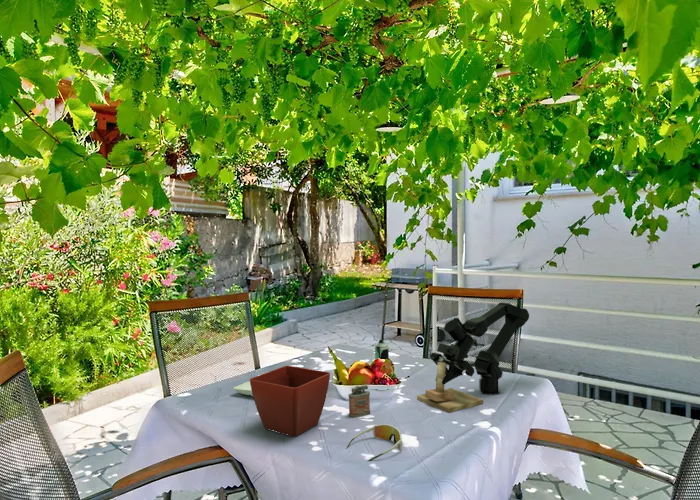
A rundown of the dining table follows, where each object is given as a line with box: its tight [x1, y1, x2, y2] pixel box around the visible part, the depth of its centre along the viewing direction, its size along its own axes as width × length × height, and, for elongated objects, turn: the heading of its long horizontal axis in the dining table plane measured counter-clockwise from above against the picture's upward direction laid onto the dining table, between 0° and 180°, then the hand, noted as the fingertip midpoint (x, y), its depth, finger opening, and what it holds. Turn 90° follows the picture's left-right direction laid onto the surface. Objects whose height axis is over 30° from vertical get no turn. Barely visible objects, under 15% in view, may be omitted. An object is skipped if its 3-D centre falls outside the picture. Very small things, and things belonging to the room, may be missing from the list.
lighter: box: [347, 384, 371, 418], centre depth 167 cm, size 8×3×10 cm, turn 117°
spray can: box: [374, 338, 390, 361], centre depth 196 cm, size 6×6×20 cm
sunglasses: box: [344, 423, 403, 462], centre depth 140 cm, size 14×15×5 cm
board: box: [416, 387, 484, 414], centre depth 179 cm, size 17×17×2 cm
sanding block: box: [425, 362, 454, 401], centre depth 176 cm, size 8×6×13 cm
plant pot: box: [249, 365, 331, 437], centre depth 156 cm, size 19×19×17 cm
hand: (439, 382), depth 176 cm, fingers closed on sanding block, 3 cm apart
